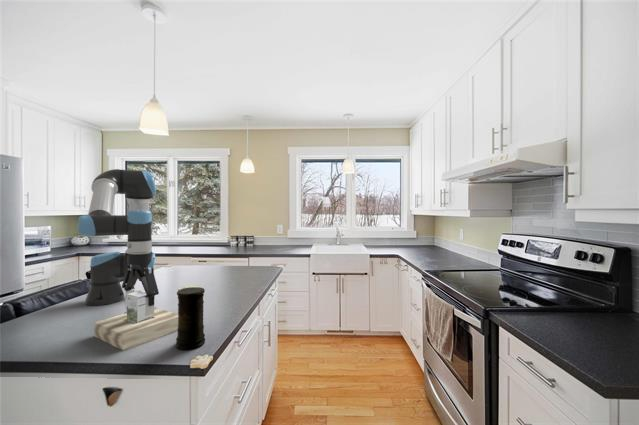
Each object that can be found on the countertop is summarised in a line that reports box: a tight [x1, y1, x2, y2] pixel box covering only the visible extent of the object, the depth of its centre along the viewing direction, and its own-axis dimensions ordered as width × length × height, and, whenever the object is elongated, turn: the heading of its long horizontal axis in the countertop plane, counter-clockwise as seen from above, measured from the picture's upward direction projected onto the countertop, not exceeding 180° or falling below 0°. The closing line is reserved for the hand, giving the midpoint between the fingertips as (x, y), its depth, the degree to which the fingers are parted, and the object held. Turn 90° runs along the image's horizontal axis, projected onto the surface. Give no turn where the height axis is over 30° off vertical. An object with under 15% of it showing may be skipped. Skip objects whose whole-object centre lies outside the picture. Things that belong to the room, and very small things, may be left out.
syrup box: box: [126, 290, 151, 324], centre depth 105 cm, size 6×6×14 cm
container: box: [175, 287, 206, 351], centre depth 96 cm, size 9×9×18 cm
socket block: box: [93, 306, 178, 351], centre depth 105 cm, size 20×20×5 cm
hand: (139, 311), depth 105 cm, fingers open, 13 cm apart
